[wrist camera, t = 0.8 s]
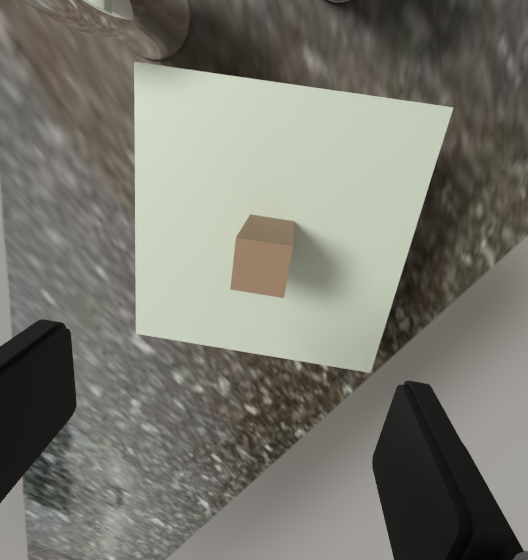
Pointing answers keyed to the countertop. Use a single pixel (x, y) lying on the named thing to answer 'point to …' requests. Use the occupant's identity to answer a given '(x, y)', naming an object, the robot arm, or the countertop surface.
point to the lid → (275, 212)
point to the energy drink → (338, 0)
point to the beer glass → (126, 21)
